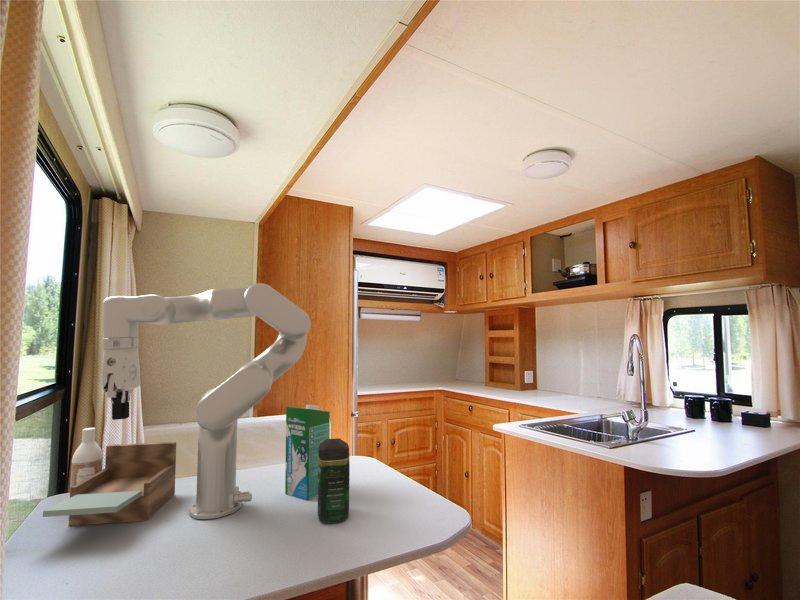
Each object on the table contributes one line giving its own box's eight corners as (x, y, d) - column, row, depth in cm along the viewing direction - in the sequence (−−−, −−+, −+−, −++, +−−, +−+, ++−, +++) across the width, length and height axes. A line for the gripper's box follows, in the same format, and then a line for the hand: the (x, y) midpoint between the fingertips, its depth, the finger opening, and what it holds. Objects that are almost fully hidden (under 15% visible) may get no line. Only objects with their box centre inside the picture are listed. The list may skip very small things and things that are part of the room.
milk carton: (329, 489, 119) (330, 403, 121) (307, 500, 111) (308, 408, 113) (307, 484, 124) (308, 401, 126) (284, 494, 116) (285, 405, 118)
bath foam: (67, 509, 108) (71, 432, 109) (70, 500, 113) (74, 428, 115) (99, 503, 111) (103, 429, 113) (101, 495, 117) (104, 424, 119)
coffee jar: (351, 522, 98) (351, 444, 100) (318, 526, 96) (318, 447, 98) (347, 506, 107) (347, 435, 109) (317, 509, 106) (317, 437, 107)
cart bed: (174, 495, 116) (176, 441, 118) (147, 520, 101) (150, 458, 102) (106, 499, 114) (109, 444, 115) (68, 525, 98) (71, 462, 99)
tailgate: (141, 490, 101) (116, 506, 90) (141, 498, 101) (116, 514, 90) (76, 494, 99) (43, 511, 88) (76, 502, 99) (42, 519, 88)
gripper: (122, 345, 96) (122, 424, 94) (149, 343, 110) (149, 411, 109) (87, 347, 94) (86, 427, 93) (119, 344, 109) (118, 414, 107)
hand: (120, 418), depth 101 cm, fingers closed
